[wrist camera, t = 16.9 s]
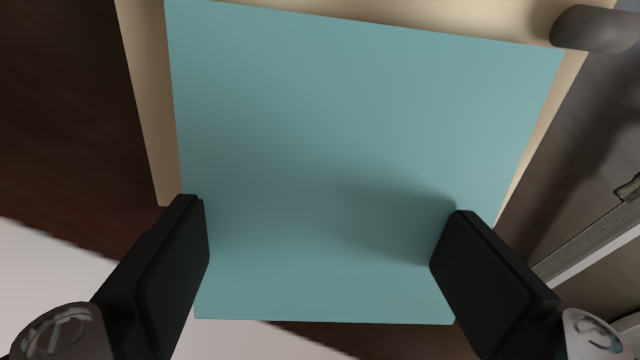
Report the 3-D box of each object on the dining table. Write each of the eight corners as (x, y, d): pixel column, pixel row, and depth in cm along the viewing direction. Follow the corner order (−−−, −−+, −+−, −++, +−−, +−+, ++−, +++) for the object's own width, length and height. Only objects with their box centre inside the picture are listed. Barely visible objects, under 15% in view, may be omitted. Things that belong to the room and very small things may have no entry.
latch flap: (539, 52, 9) (565, 50, 8) (442, 307, 14) (452, 324, 13) (179, 3, 8) (162, -6, 7) (202, 300, 12) (194, 318, 11)
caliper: (677, 75, 14) (914, 98, 9) (692, 80, 14) (932, 107, 9) (476, 310, 23) (529, 394, 18) (486, 311, 24) (542, 395, 18)
